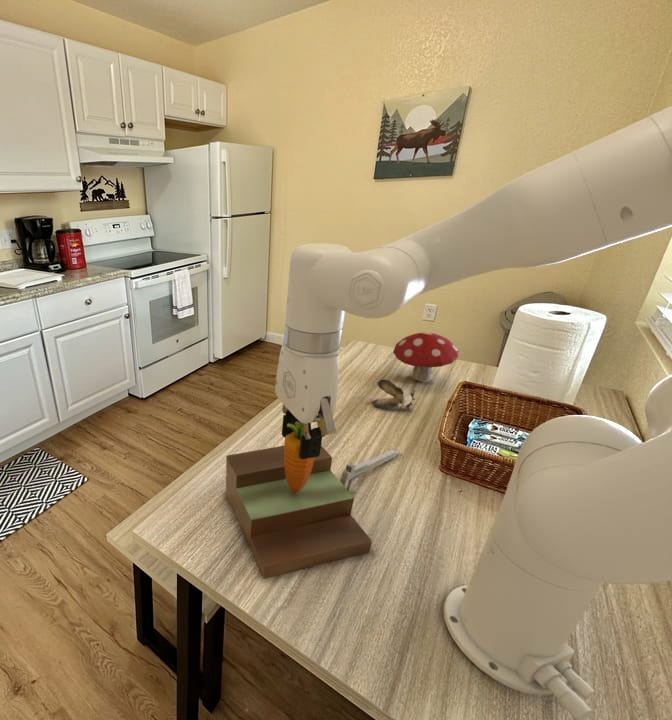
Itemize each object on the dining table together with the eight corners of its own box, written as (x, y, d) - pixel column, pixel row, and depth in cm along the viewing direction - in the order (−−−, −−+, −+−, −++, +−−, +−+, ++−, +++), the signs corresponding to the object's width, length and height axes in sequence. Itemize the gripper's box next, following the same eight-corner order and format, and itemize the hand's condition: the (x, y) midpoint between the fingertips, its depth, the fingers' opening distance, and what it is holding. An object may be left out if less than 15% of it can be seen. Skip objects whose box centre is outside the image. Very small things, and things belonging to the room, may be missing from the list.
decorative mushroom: (455, 398, 103) (470, 346, 97) (390, 389, 109) (400, 339, 103) (443, 373, 117) (456, 326, 111) (386, 366, 122) (395, 321, 116)
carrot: (304, 508, 61) (315, 429, 55) (275, 496, 63) (281, 419, 57) (313, 488, 65) (324, 413, 59) (285, 478, 67) (292, 404, 61)
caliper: (342, 497, 71) (347, 470, 69) (337, 494, 72) (342, 467, 70) (398, 454, 82) (404, 430, 80) (393, 452, 83) (399, 427, 81)
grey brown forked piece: (410, 396, 102) (375, 385, 105) (420, 384, 96) (383, 372, 99) (404, 421, 99) (368, 408, 102) (414, 409, 93) (376, 396, 96)
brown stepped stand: (369, 552, 61) (379, 509, 57) (263, 578, 57) (267, 534, 53) (311, 476, 77) (316, 439, 73) (225, 493, 73) (226, 455, 69)
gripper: (262, 321, 60) (256, 420, 67) (320, 365, 44) (304, 487, 52) (305, 316, 61) (295, 414, 69) (376, 358, 46) (353, 477, 53)
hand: (299, 444), depth 60 cm, fingers closed on carrot, 5 cm apart
